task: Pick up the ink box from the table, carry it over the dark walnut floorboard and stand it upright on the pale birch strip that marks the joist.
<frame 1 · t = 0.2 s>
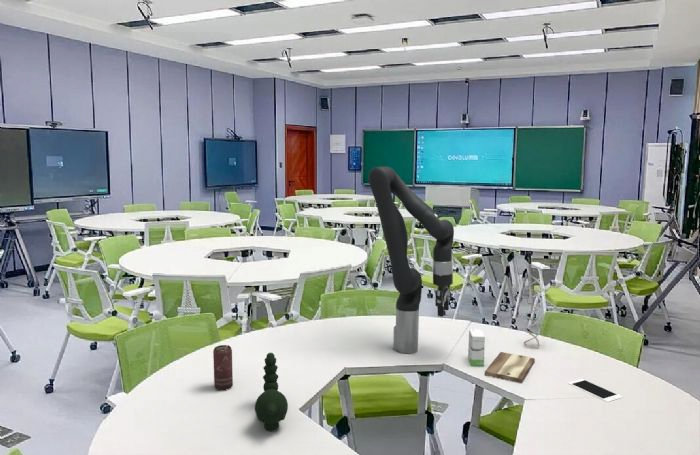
hand: (443, 313, 206), 18 cm above the table, tool pointing down, fingers open, 8 cm apart
dna model: (531, 347, 220), on the table
cell phone: (594, 391, 181), on the table
dark green knobbed piece: (271, 419, 159), on the table
floorboard: (510, 368, 198), on the table
ink box: (475, 362, 204), on the table
can: (223, 387, 180), on the table
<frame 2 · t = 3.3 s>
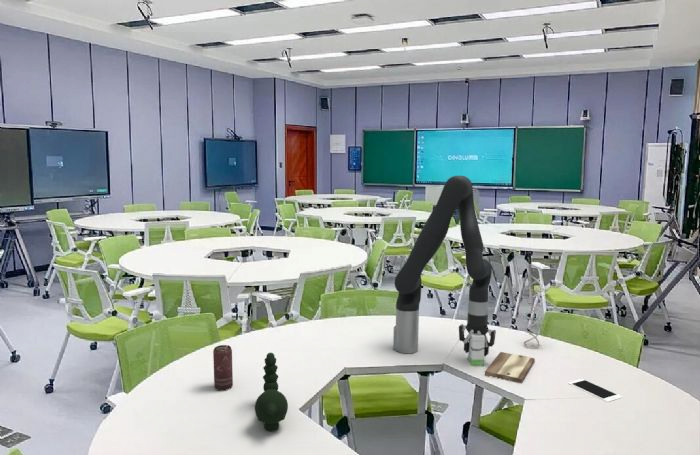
hand: (476, 353, 203), 3 cm above the table, tool pointing down, fingers closed on ink box, 6 cm apart
ink box: (475, 362, 204), on the table, touching gripper
everything else where it was.
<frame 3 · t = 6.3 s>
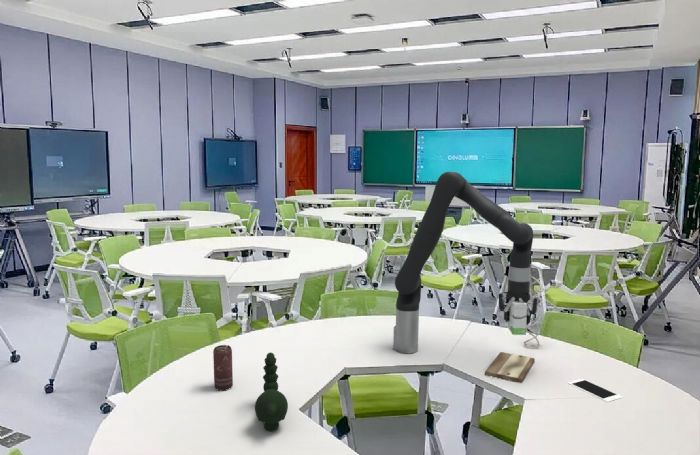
hand: (516, 322, 195), 18 cm above the table, tool pointing down, fingers closed on ink box, 6 cm apart
ink box: (516, 331, 195), point 14 cm above the table, touching gripper
everything else where it was.
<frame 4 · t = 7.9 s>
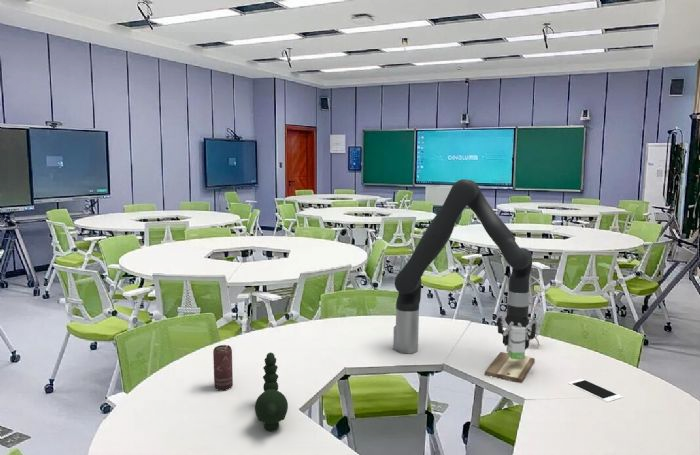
hand: (515, 346, 196), 9 cm above the table, tool pointing down, fingers closed on ink box, 6 cm apart
ink box: (515, 355, 196), point 5 cm above the table, touching gripper
everything else where it was.
when the fingers open (6 cm above the table, at t = 9.4 s): ink box drops 1 cm, resting on floorboard.
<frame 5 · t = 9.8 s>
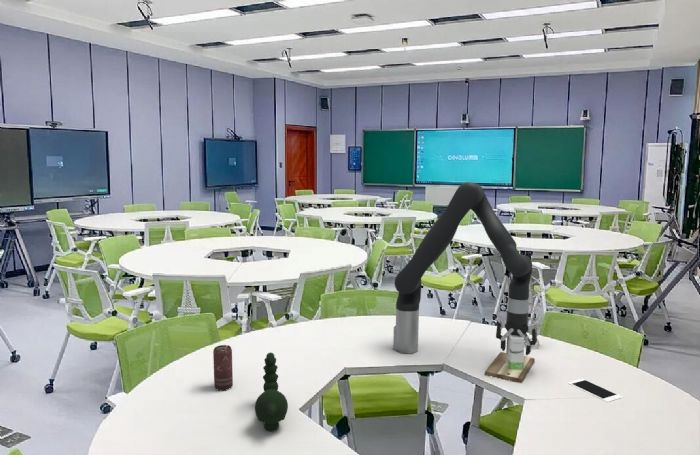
hand: (515, 352, 196), 7 cm above the table, tool pointing down, fingers open, 8 cm apart
ink box: (514, 365, 197), point 2 cm above the table, touching floorboard
everything else where it was.
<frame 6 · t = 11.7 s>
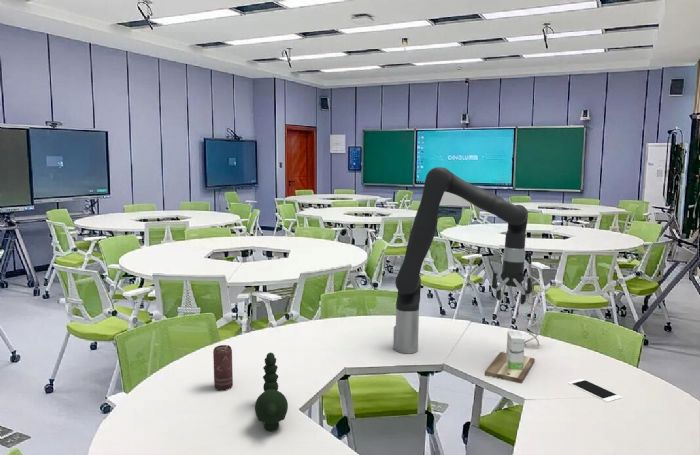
hand: (510, 301, 198), 25 cm above the table, tool pointing down, fingers open, 8 cm apart
nothing on the table moved.
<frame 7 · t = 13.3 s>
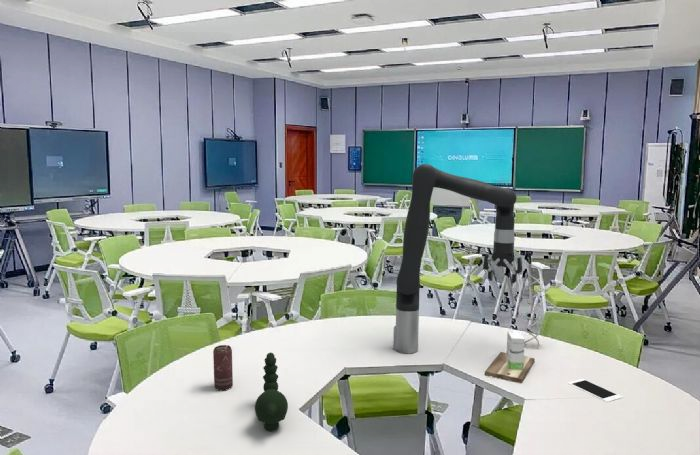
hand: (501, 282, 205), 30 cm above the table, tool pointing down, fingers open, 8 cm apart
nothing on the table moved.
at the end: ink box inside the target area (0.5 cm from its centre), point 1.5 cm above the table; ink box tilted 0°; the gripper is holding nothing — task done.
